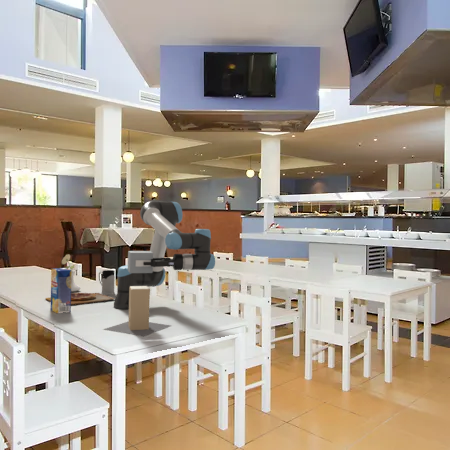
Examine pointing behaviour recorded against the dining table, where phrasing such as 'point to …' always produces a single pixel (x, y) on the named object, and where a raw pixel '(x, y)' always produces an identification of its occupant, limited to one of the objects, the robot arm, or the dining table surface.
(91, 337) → the dining table surface
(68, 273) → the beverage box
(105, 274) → the grey metal pitcher
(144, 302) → the carton base
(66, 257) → the flower in vase
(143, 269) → the grey matte cube
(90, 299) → the pizza
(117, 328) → the charcoal mat
